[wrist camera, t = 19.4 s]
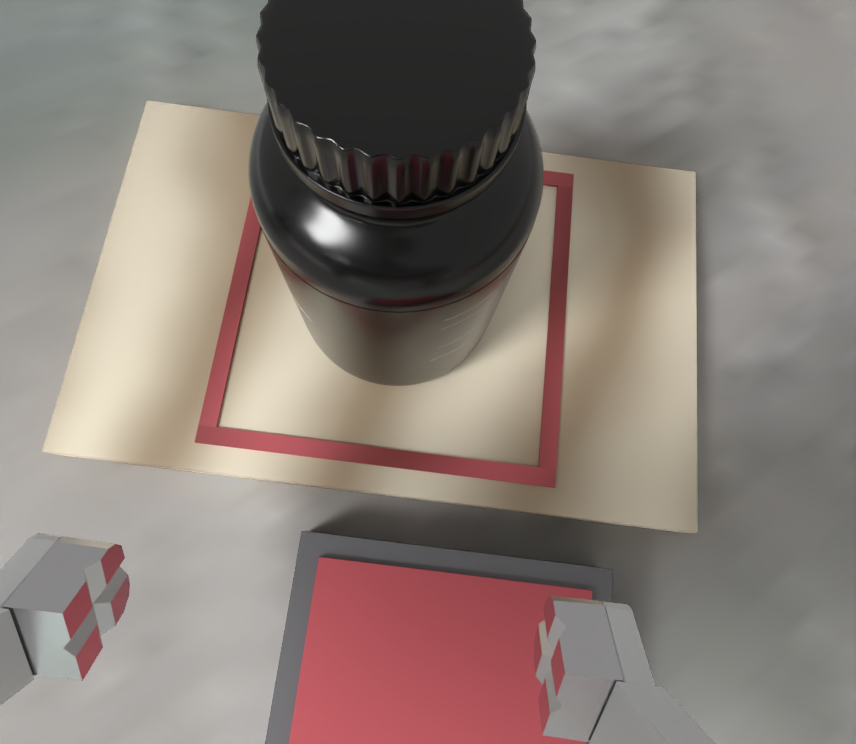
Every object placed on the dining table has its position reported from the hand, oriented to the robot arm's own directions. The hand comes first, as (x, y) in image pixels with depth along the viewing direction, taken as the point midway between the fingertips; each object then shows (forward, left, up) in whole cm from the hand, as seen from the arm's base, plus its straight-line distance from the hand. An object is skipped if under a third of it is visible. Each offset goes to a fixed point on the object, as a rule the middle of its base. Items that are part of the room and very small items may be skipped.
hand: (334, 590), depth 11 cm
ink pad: (+3, -4, -9) cm, 10 cm away
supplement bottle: (0, +9, -8) cm, 12 cm away
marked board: (0, +9, -9) cm, 13 cm away
